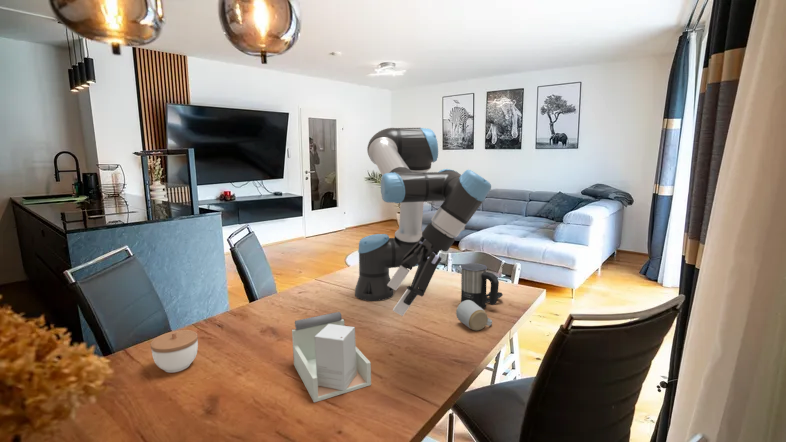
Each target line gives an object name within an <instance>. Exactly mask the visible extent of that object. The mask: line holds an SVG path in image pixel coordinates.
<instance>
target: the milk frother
mask: <svg viewBox="0 0 786 442" xmlns="http://www.w3.org/2000/svg"><path fill="white" fill-rule="evenodd" d="M487 268H488V266H486V265H485V264H482V263H476V262H475V263H463V264H461V265H460V269H461V277H460V278H461V286H460V287H461V295H460V303H461V302H463V301H465V300H471V301H473V302H474V303H476V304H477V305H478V306H479V307H481V308H482V309H483V310H485V309H486V308H487V303H489V305H491V306H493V305H496V304H497V301H498V299H500V298H502V297H503V293H502V292H500V291H499V287H500V286H499V279H498V276H497V275H495V273H492V272H489V271H487ZM487 280H488V281H489V282H490V290H489V292H488V293H487Z"/></svg>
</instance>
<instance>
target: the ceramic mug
mask: <svg viewBox="0 0 786 442" xmlns="http://www.w3.org/2000/svg"><path fill="white" fill-rule="evenodd" d="M455 315H456V318H457V320H458V321H459V322H461V323H462V324H463V325H465V326H466V327H467V328H468V329H470V330H472V331H481V330H483V329H484V328H485V327H486V326H489V327H491V326H492V324H493V320H492V319H491V318H489V316H488V313H487V312H486V311H485V309H482V308H481V307H479V306H478V305H477V304H476V303H474V302H473V301H471V300H465V301H463V302H461V301H460V303H459V304H458V305H457V308H456V312H455Z"/></svg>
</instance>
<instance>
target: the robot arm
mask: <svg viewBox="0 0 786 442" xmlns="http://www.w3.org/2000/svg"><path fill="white" fill-rule="evenodd" d="M366 149H367V155H368V157H369V159H370V161H371V162H372V163H373V164H374V165H376V166H377V168H378V170H379V172H380V174H381V177H380V178H381V179H380V193H381V199H382V201H383V202H384V203H393V204H394V203H395V204H399V205H400V208H399V222H398V223H399V224H398V225H399V226H398V229H397V230H396V231H395V232H394V237H390V236H389V235H388V234H387V233H375V234H371V235H365V237H363V238H361V239H360V240H359V242H358V251H357V252H358V266H359V269H358V278H357V281H356V285H355V288H354V295H355V297H356V298H357V299H359V300H362V301H369V302H370V301H371V302H377V301H379V302H380V301H385V300H388V299H390V298H392V297H393V296H394V294H395V293H394V291H397V290H398V289H399V287H400V286H401V284H402V283H403V281H404V280H405V278H406V277H407V275H408V274H409V273H410V271H412V270H413V268H414V267H417V269H416V271H415V274H414V277H413V279H412V283H411V284H410V285H408V286H406V290H405V292H404V293H403V294H402V296H401V297H400V298H399V300H398V301H397V303H396V304H395V306H394V307H393V308H392V312H394V313H396V314H398V315H400V316H401V317H403V316H405V313H406V312H407V311H408V310H409V308H410V307H411V305H412V304H413V303H414V301H415V300H416V298H417V296H420V297H423V296H424V295H425V293H426V291H427V290H428V289H427V288H428V286H429V285H430V282H431V280H432V278H433V275H434V274H435V272H436V269H437V267H438V265H440V263H441V261H442V257H441V256H439V253H440V252H441V251H442V252H448V251H449V250H450V248H452V246H453V244H454V242H455V238H457V237H459V235H460V233H462V232H463V231H465V229H466V228H465V227H466V226H467V224H468V222H470V220H471V219H472V217H473V216H474V215H475V213H476V212H477V211H478V210H479V208H480V207H481V205H482V204H483V202H484V201H485V200H486V197H487V195H488V194H489V193H490V191H491V190H492V184H491V182H489V181H488V180H487V179H485V178H484V177H483V176H482V175H480V174H478V173H477V172H475V171H474V170H471V169H466V170H465V171H464V172H463V173H462V174H461V173H459V172H458V171H456V170H454V169H449V168H443V169H440V170H439V171H434V172H433V171H431V172H429V170H431V169H432V163H435V162H436V161H438V158H439V144H438V138H437V136H436V134H435V131H434V130H433V129H431V128H426V127H425V128H424V127H388V128H383V129H381V130H379V131H378V132H376V133H375V134H374V135H373V136H372V137H371V138H370V139H369V141H368V144H367V148H366ZM424 202H430V203H431V202H442V203H441V204H440V206H439V207H438V209H437V210H436V212H435V213H434V214H433V216H432V217H431V220H430V221H431V222H428V224H427V225H426V227H425V228H424V230H423V231H422V227H423V214H424V205H425V204H424ZM391 268H392V269H393V268H397V270H396V272H395V273H394V274H393V276H392V278H391V277H390V269H391Z"/></svg>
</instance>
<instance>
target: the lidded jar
mask: <svg viewBox="0 0 786 442" xmlns="http://www.w3.org/2000/svg"><path fill="white" fill-rule="evenodd" d="M198 339H199V337H198V333H197V332H196V331H194V330H191V329H180V330H178V329H177V330H173V331H169V332H166V333H163V334H161V335H158V336H157V337H155V338H154V339H153V340H152V341H150V344H149V345H150V349H151V354H152V355H151V356H152V359H153V361H154V364H155V365H156V366H157V367H158V368H159V369H160V370H163V371H164V372H166V373H172V374H173V373H178V372H182V371H185V370H186V369H188V368H189V367H190V365H191V364H192V363H193V361H194V360H195V359H196V357H197V354H198V348H199V341H198Z"/></svg>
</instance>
